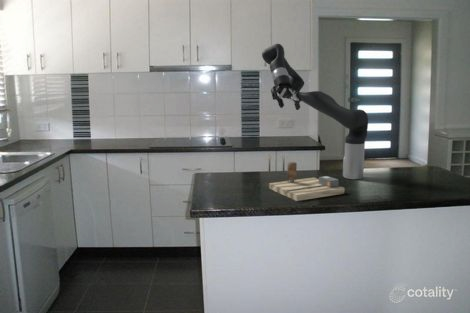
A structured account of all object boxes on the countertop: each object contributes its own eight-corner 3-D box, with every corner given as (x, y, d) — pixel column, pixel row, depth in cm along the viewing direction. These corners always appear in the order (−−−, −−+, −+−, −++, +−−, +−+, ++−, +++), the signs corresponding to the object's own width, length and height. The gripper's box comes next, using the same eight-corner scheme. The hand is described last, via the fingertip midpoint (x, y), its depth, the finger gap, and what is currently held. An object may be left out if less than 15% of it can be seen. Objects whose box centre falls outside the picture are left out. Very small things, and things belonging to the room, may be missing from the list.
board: (268, 188, 189) (268, 182, 189) (313, 182, 199) (313, 177, 199) (296, 200, 170) (296, 194, 169) (344, 193, 180) (344, 187, 179)
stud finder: (318, 183, 187) (318, 176, 186) (326, 182, 189) (327, 175, 188) (330, 187, 180) (330, 180, 179) (338, 186, 182) (338, 179, 181)
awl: (285, 187, 192) (285, 162, 190) (292, 186, 193) (293, 161, 191) (290, 189, 188) (290, 164, 186) (297, 187, 190) (298, 163, 188)
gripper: (290, 87, 201) (299, 114, 194) (264, 82, 195) (272, 111, 187) (298, 76, 196) (308, 104, 188) (272, 71, 189) (281, 100, 181)
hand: (290, 107), depth 187 cm, fingers open, 8 cm apart
